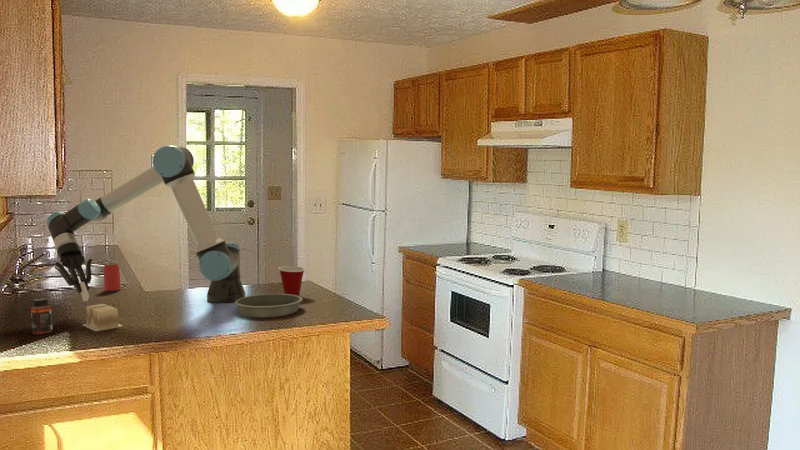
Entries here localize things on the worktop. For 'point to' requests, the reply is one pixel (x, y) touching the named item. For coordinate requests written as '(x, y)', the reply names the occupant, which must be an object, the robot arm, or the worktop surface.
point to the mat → (97, 328)
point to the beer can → (111, 277)
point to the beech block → (101, 316)
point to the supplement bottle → (41, 317)
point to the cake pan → (259, 308)
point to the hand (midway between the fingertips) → (86, 298)
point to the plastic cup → (291, 279)
